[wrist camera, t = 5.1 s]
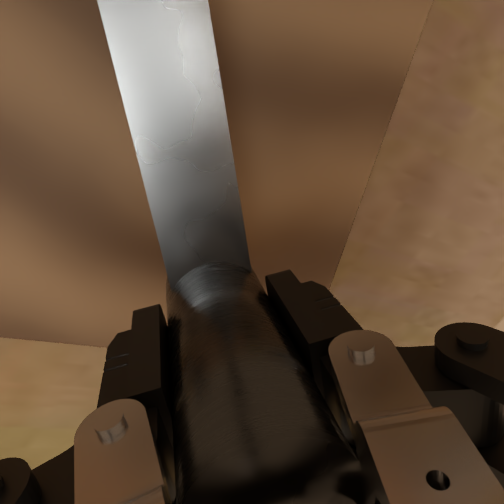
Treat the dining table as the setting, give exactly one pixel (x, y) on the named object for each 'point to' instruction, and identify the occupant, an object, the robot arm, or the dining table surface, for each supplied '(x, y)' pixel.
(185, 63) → the lever
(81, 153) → the board
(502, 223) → the dining table surface
